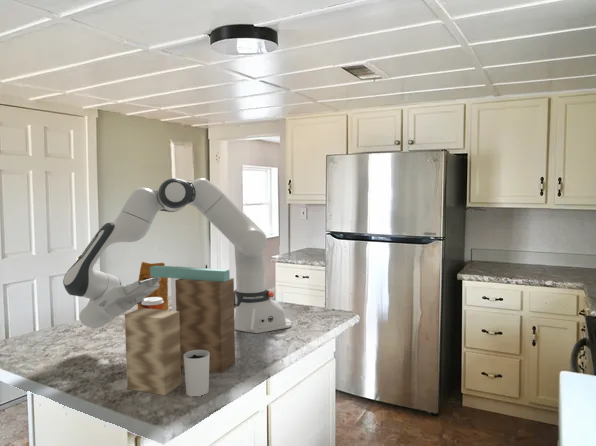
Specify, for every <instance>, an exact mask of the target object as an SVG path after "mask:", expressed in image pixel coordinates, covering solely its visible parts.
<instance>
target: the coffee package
mask: <svg viewBox="0 0 596 446" xmlns="http://www.w3.org/2000/svg"><path fill="white" fill-rule="evenodd" d="M156 265H157V266H166V263H164V262H157V263H156V262H155V263H149V262H145V261H142V262H141V265H140V269H139V275H138V280H137V281H143V280H147V279H150V278H153V277H150V267H152V266H156ZM160 278H161V280H160V281H159V285H160V286H159V288H158V289H156V290H155V291H154V292H152V293H151V294H150V295H148V296H147V297H145V298H149V297H161V298H162V299H163V301H164V302H163V310H169V298H168V295H169V294H168V291H169V285H168V284H169V280H168V278H163V277H160ZM141 303H142V302H140V303H139V304H137V310H138V309H141V308H143V307H142V304H141Z"/></svg>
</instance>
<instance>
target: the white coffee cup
mask: <svg viewBox="0 0 596 446" xmlns="http://www.w3.org/2000/svg"><path fill="white" fill-rule="evenodd" d="M209 357H210V353H209V352H208V351H206V350H192V351H189V352H186V353H185V354H184V367H183V369H184V381H185V393H186V395H187V396H188V395H189V396H188V397H192V396H198V397H201V395H203V396H205V395H207V394H208V393H209V389H210V388H209V387H210V371H209ZM206 393H207V394H206ZM204 394H205V395H204Z"/></svg>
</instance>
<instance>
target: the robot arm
mask: <svg viewBox="0 0 596 446" xmlns="http://www.w3.org/2000/svg"><path fill="white" fill-rule="evenodd" d="M188 205H190V206H193V207H194V208H196V209H197V210H198V211H199V212H200V213H201V214H202V215H203V216H204V217H205V218H206V219H207V220H208V221H209V222H210V223H211V224H212V225H213V226H214V227H215V228H217V230H219V232H221V234H222V235H224V237H225V238H226V239H228V240H229V242H230V243H231V244H232V245H233V246H234V257H235V258H234V259H235V275H236V276H235V278H236V279H235V280H236V282H235V283H236V286H235V287H236V288H235V290H236V291H235V290H234V291H235V304H234V305H235V313H234V326H235V331H239V332H248V333H254V334H261V333H266V332H272V331H276V330H282V329H287V328H291V327H292V322H291V320H290V319H289V318H287V317H286V313H285V310H284V308H283V307H282V306H281V305H279V304H278V303H277V302H275V301H274V300H273V299H271V298H273V297H274V296H275V294H274V292H272V291H270V290H268V289H266V267H265V259H264V251H265V250H266V248H267V245H268V238H267V235H266V234H265V232H264V231H263V230H262V229H261V228H260V227H259V226H258V225H257V224H256V223H255V222H254V221H253V219H251V218H250V217H249V216H247V214H245V212H243V211H242V209H240V207H238V206H237V205H236V204H235V203H234V202H233V201H232V200H231V199H230V198H229V197H228V196H227V195H226V193H224V192H223V191H222V190H221V189H220V188H219V187H218V186H216V185H215V184H214V183H212V182H211V181H210V180H208V179H206V178H205V177H204V178H203V177H198V178H196V179H194V180H193V181H187V180H184V179H180V178H168V179H166V180H164V181H163V182H162V183H161V184H160V186H159V187H158V188H157V189H154V190H153V189H151V188H148V187H142V186H141V187H137V188H135V189H134V190H133V192H132V193H131V194H130V195H129V197H128V199H126V201H125V202H124V205H123V207H122V208H121V210H120V212H119V214H118V215H117V217H115V219H113V221H111V222H107V223H105V224H103V225H102V226H101V228H100V229H99V230H98V231H97V232H96V234H95V236H94V237H93V238H92V239H91V240H90V242H89V243H88V244H87V246H86V247H85V249H84V251H83V252H82V253H81V255H79V257H78V259H77V260H76V261H75V263H73V265H72V266H70V268H69V269H68V270H67V271H66V273H65V275H64V277H63V280H62V283H63V287H64V289H65V291H66V293H68V295H69V296H76V297H80V298H81V297H82V298H85V299H89V301H88V303H87V304H86V306H85V307H84V308H83V309H81V311H80V312H79V315H78V317H79V320H80V322H81V324H82V325H83V326H85V327H87V328H89V329H97V328H101V327H103V326H105V325H107V324H108V323H110V322H112V321H113V320H114V319H115V318H116V317H119V316H122V315H123V314H126V313H127V312H128V311H129V310H131V309H133V307H135V306H136V305H137V306H138V304H139V303H140V302H142V301H144V298H145V297H147V296H148V295H150V294H151V293H152V292H154V291H155V290H156V289H158V288H159V286H160V285H159V281H160V280H161V278H160V277H153V278H150V279H147V280H143V281H138V280H137V281H134V282H133V283H130V284H126V285H122V282H121V280H120V278H119V277H118V276H116V275H114V274H111V273H107V272H103V271H101V270H98V269H95V268H94V266H95V264H96V263H97V262H98V260H99V259H100V257H101V256H102V254H103V253H104V252H105V250H106V249H107V248H108V247H109V246H111V245H114V244H117V243H132V242H133V243H134V242H137V241H140V240H142V239H143V238H145V236H147V234H148V233H149V230H150V228H151V225H152V224H153V221H154V219H155V217H156V216H157V214H158V213H159V212H160V211H161V212H168V213H175V212H176V213H177V212H178V211H180V210H182V209H183V208H185V207H186V206H188Z"/></svg>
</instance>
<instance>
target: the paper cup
mask: <svg viewBox="0 0 596 446" xmlns="http://www.w3.org/2000/svg"><path fill="white" fill-rule="evenodd" d="M163 302H164V301H163V299H162V298H161V297H149V298H144V301H142V303H141V304H142V307H143V308H149V309H159V310H163Z"/></svg>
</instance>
